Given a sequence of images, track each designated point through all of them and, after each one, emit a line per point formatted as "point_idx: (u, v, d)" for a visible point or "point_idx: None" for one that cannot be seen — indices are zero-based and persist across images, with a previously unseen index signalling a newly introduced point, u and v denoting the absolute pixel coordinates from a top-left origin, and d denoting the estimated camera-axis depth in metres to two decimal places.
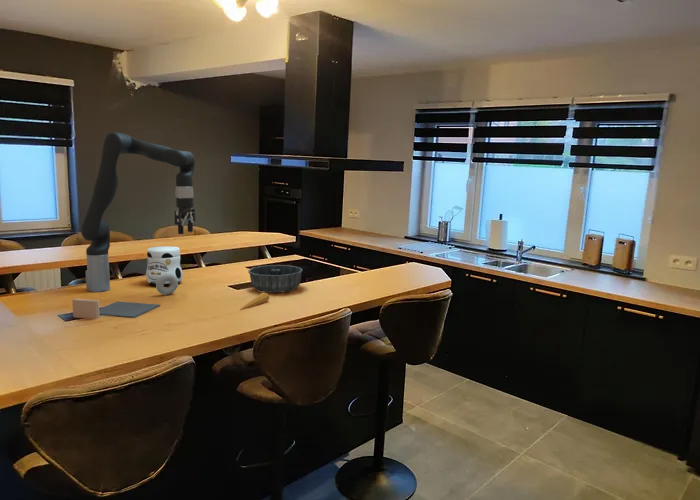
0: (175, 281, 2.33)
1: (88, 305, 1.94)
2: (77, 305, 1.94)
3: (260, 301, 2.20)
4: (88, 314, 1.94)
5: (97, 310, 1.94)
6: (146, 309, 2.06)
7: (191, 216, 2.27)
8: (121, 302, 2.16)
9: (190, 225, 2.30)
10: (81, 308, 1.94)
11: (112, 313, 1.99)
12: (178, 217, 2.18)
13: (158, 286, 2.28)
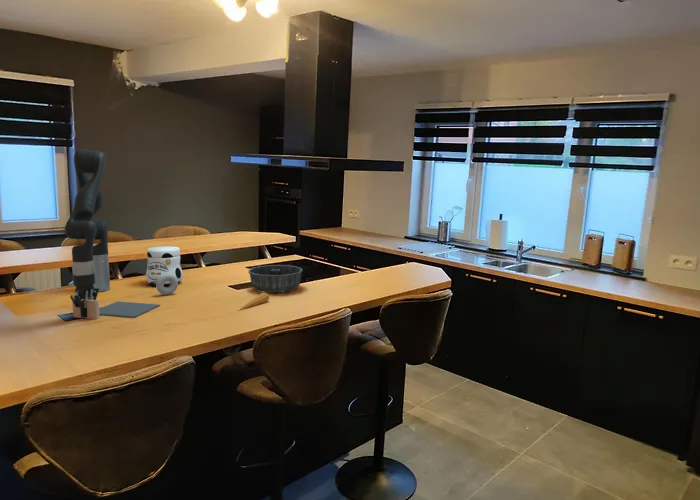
0: (175, 281, 2.33)
1: (88, 305, 1.94)
2: None
3: (260, 301, 2.20)
4: (88, 314, 1.94)
5: (97, 310, 1.94)
6: (146, 309, 2.06)
7: (91, 295, 1.95)
8: (121, 302, 2.16)
9: None
10: None
11: (112, 313, 1.99)
12: (77, 302, 1.89)
13: (158, 286, 2.28)
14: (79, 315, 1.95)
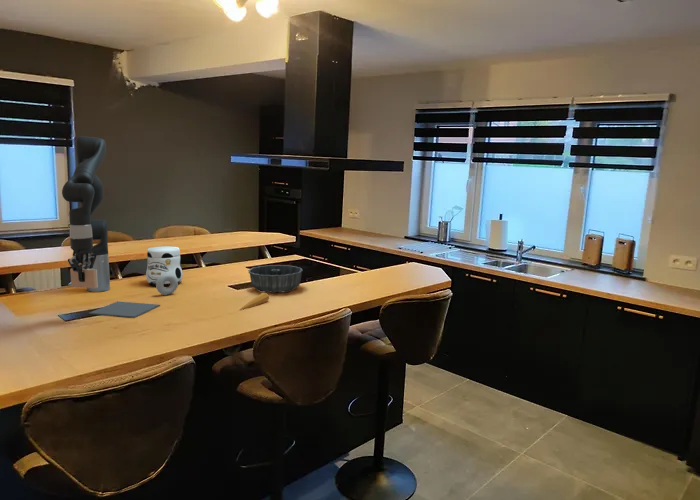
0: (175, 281, 2.33)
1: (86, 274, 1.92)
2: (75, 274, 1.93)
3: (260, 301, 2.20)
4: (86, 283, 1.92)
5: (95, 279, 1.92)
6: (146, 309, 2.06)
7: (89, 260, 1.93)
8: (121, 302, 2.16)
9: None
10: None
11: (112, 313, 1.99)
12: (74, 266, 1.87)
13: (158, 286, 2.28)
14: (77, 285, 1.93)
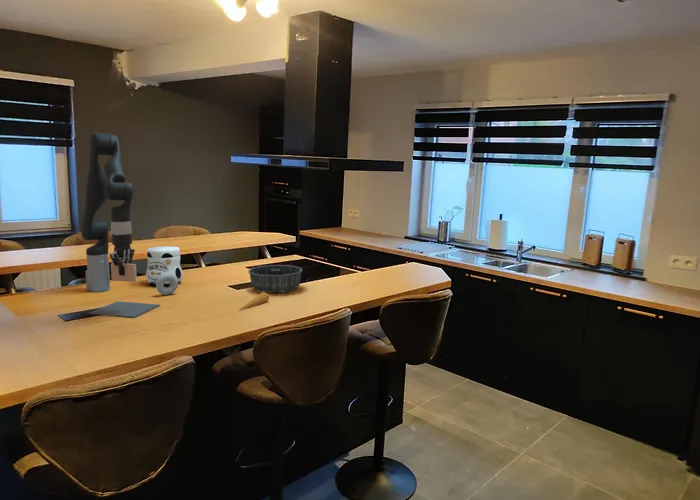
0: (175, 281, 2.33)
1: (126, 268, 2.03)
2: (115, 268, 2.04)
3: (260, 301, 2.20)
4: (126, 277, 2.03)
5: (134, 273, 2.03)
6: (146, 309, 2.06)
7: (128, 255, 2.04)
8: (121, 302, 2.16)
9: None
10: None
11: (112, 313, 1.99)
12: (116, 260, 1.98)
13: (158, 286, 2.28)
14: (117, 278, 2.04)
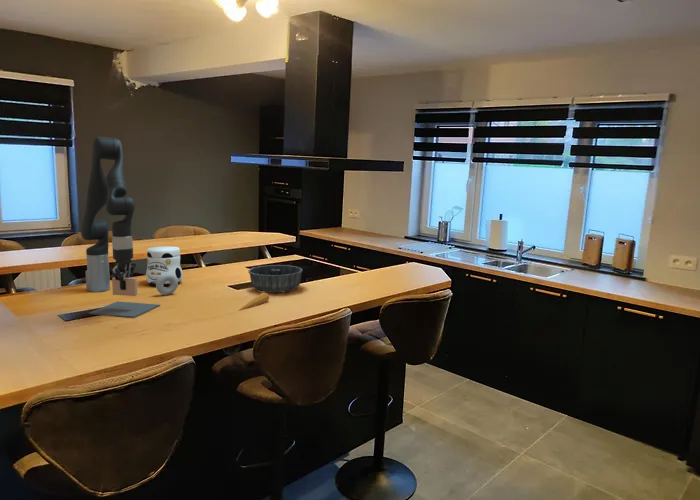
0: (175, 281, 2.33)
1: (127, 283, 2.04)
2: (116, 283, 2.05)
3: (260, 301, 2.20)
4: (127, 291, 2.04)
5: (135, 287, 2.04)
6: (146, 309, 2.06)
7: (129, 269, 2.05)
8: (121, 302, 2.16)
9: None
10: None
11: (112, 313, 1.99)
12: (117, 275, 1.99)
13: (158, 286, 2.28)
14: (118, 293, 2.05)
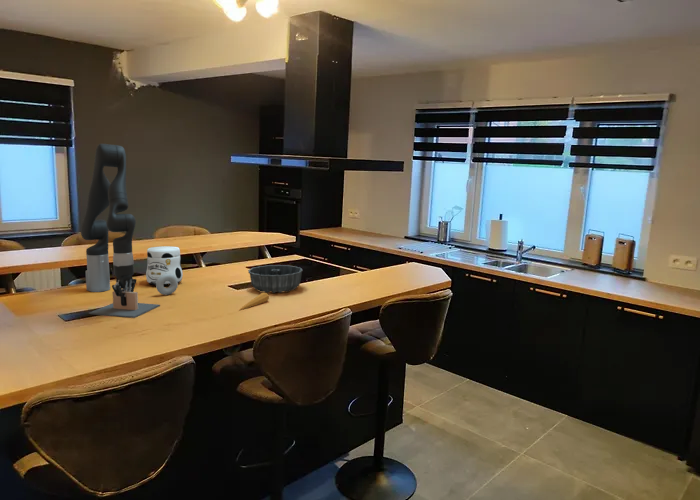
0: (175, 281, 2.33)
1: (128, 297, 2.05)
2: (117, 297, 2.05)
3: (260, 301, 2.20)
4: (128, 305, 2.05)
5: (136, 301, 2.05)
6: (146, 309, 2.06)
7: (130, 285, 2.06)
8: None
9: None
10: None
11: (112, 313, 1.99)
12: (118, 291, 2.00)
13: (158, 286, 2.28)
14: (119, 306, 2.06)
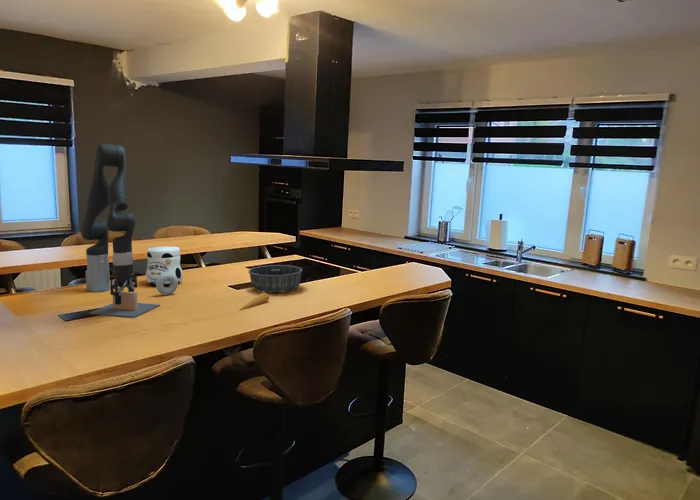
0: (175, 281, 2.33)
1: (127, 297, 2.05)
2: None
3: (260, 301, 2.20)
4: (128, 305, 2.05)
5: (136, 301, 2.05)
6: (146, 309, 2.06)
7: (131, 283, 2.07)
8: None
9: None
10: (121, 299, 2.05)
11: (112, 313, 1.99)
12: (114, 287, 1.98)
13: (158, 286, 2.28)
14: (119, 306, 2.06)
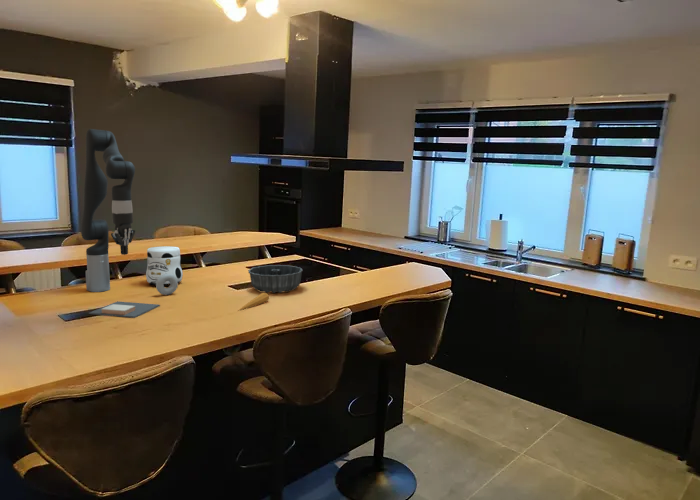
0: (175, 281, 2.33)
1: None
2: None
3: (260, 301, 2.20)
4: None
5: (130, 310, 2.01)
6: (146, 309, 2.06)
7: (128, 234, 2.04)
8: (121, 302, 2.16)
9: None
10: None
11: None
12: (117, 239, 1.99)
13: (158, 286, 2.28)
14: None
